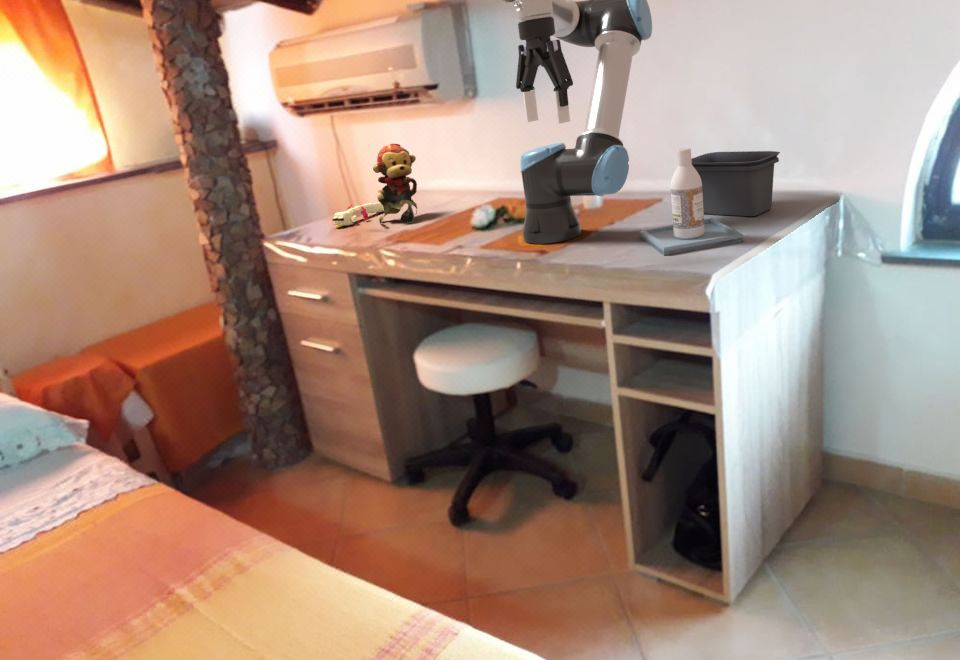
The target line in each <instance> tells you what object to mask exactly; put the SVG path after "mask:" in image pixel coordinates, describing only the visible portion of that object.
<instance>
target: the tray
mask: <svg viewBox="0 0 960 660" xmlns="http://www.w3.org/2000/svg"><path fill="white" fill-rule="evenodd" d="M640 239H642V240H644V241H645V242H646V243H648V245H650V246H651V247H652V248H653V249H655V250H657V251H658V252H659V253H660V254H662V255H663V256H669V255H674V254H681V253H686V252H692V251H698V250H704V249H705V250H706V249H710V248H715V247H716V248H717V247H723V246H726V245H732V244H733V245H734V244H738V243H743V242H744V235H743V233H742V232H739V231H737V229H736V230H735V228H734V229H733V228H732V227H730V226H728V225H726V224H724V223H722V222H721V221H718V220H717V219H715V218H713V217H711V218H704V234H703V235H702V236H700V237H698V238H693V239H679V238H676V237H675V236H674V231H673V224H669V225H664V226H658V227H652V228H646V229H641V230H640Z"/></svg>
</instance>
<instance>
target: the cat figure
mask: <svg viewBox="0 0 960 660" xmlns="http://www.w3.org/2000/svg"><path fill="white" fill-rule="evenodd" d="M381 190H382V189H379V190H378V191H377V194H378V193H379V192H380V191H381ZM352 206H353V205H352V204H350V205H349V206H348V207H347V209H346V210H345V211H340V212H336V213H334V215H333V217H332V218H331V220H332V222H334V223H332V225H333V226H335V228H342V227H344V226H350V225H351V226H352V225H354V224H355V222H356V221H357V220H356V219H358V217H359V218H360V217H361V216H362V218H363V222H366V221H367V220H368V217H369V214H375V213H382V212H384V208H383V205H382V204H381V203H380V202H379V201H378V200H377V202H369V203H364V204H359V205H355V206H354V207H352ZM391 208H393V207H391Z"/></svg>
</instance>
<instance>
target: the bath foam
mask: <svg viewBox="0 0 960 660" xmlns="http://www.w3.org/2000/svg"><path fill="white" fill-rule="evenodd" d="M691 159H692V149H691V148H690V147H684V148H683V147H682V148H678V149H677V165H678V166H677V168H676V169H675V170H674V173H673V175H672V178H671V181H670V200H671V213H672V214H671V215H672V225H673V231H674V236H675V237H676V238H679V239H693V238H698V237H700V236H702V235H703V234H704V219H705V218H704V217H705V214H704V211H703V192H702V181H701V178H700V176H699V174H698V172H697V171H696V169H695V168H694V167H693V166H692V160H691Z"/></svg>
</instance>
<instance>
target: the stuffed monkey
mask: <svg viewBox="0 0 960 660" xmlns="http://www.w3.org/2000/svg"><path fill="white" fill-rule="evenodd" d="M376 159H377V160H376V164H374V166H373V167H372V169H373V171H374V173H377V174H379V173H381V175H383V176H380V177H378V179H377V182H379V184H380V183H381V184H384V187H382V188H381V189H380V190H381V191H380V192H379V193H378V192H377V196H376V198H377V202H378V201H379V202H380V203H381V204H382V205H383V208H384V211H383V212H384V215H381V216H380V217H379V219H378V221H379V224H381V223H382V222H383V221H384V220H385V216H387V215H395V214H398V213H399V212H401V210H402V208H403V207H404V206H405V205H407V209H406V210H404V212H403V213H402V214H401V216H400V219H399V221H400V222H405V223H410V224H411V223H413V222H415V221H414V220H415V215H417V213H418V205H417V203H416V202H415V201H414V200H413V199H412V197H413V196H414V195H416V194H417V191H418V190H417V187H418V183H417V180H416V179H415V178H413V177H412V178H411V177H410V176H409V175H411V174H412V170H413V169H412V165H413V163H415V161H416V159H417V158H416V156H415V155H414V154H410V152H409V151H408V150H407V149H406V148H405V147H402V144H399V143H390V144H387V145H385V146H383V147H382V148H381V149H380V150H379V152H378V154H377V158H376ZM410 183H412V187H411V185H410ZM391 207H393V208H391ZM413 207H415V209H416V210H415V213H414V211H413Z"/></svg>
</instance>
